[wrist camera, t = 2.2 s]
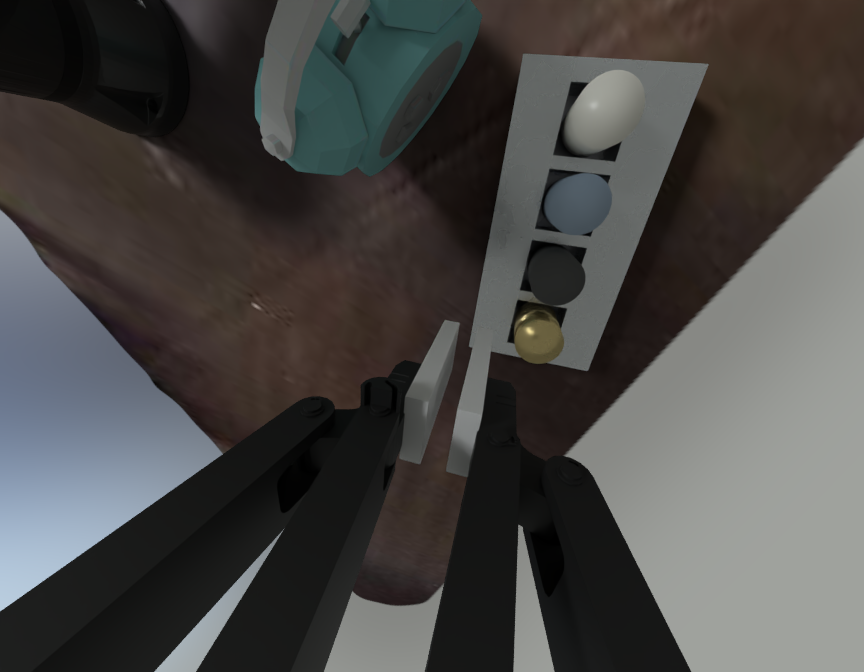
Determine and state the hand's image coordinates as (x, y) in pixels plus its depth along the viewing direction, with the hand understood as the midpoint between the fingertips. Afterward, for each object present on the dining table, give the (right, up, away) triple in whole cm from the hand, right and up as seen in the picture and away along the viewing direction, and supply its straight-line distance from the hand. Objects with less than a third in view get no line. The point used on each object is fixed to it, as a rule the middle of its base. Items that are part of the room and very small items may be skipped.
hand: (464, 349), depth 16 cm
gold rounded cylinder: (+10, +2, +19) cm, 21 cm away
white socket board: (+11, +12, +17) cm, 24 cm away
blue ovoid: (+11, +13, +13) cm, 22 cm away
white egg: (+12, +18, +11) cm, 24 cm away
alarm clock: (-4, +25, +15) cm, 29 cm away
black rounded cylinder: (+10, +8, +16) cm, 21 cm away
